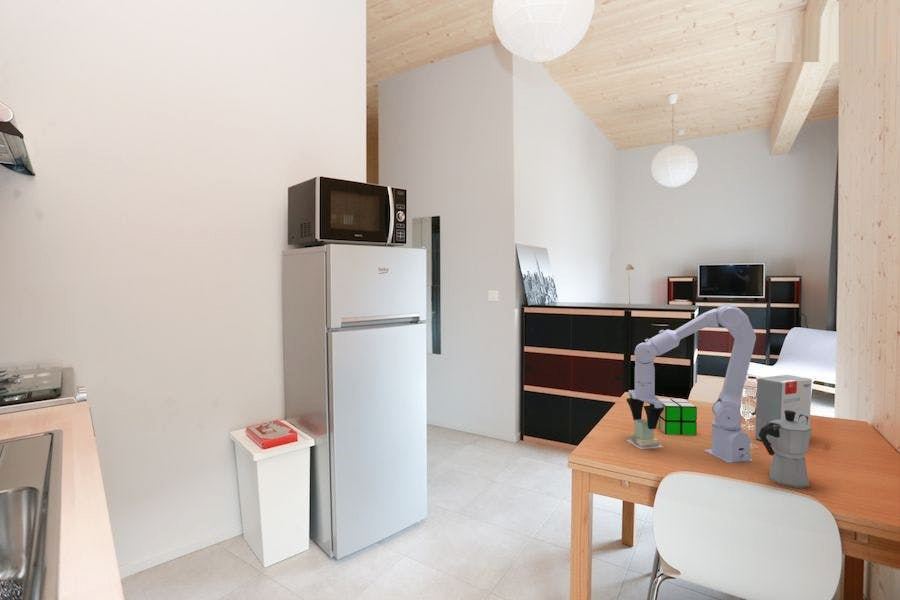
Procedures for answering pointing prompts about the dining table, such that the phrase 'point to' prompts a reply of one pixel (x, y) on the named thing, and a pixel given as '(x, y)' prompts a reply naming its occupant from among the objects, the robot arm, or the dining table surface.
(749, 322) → the robot arm
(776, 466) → the coffee maker
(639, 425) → the green block
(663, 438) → the dining table surface
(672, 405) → the puzzle cube
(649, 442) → the base block
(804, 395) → the hard drive box
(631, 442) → the building mat
